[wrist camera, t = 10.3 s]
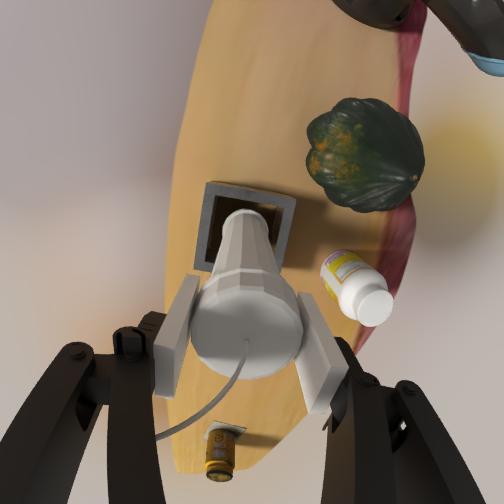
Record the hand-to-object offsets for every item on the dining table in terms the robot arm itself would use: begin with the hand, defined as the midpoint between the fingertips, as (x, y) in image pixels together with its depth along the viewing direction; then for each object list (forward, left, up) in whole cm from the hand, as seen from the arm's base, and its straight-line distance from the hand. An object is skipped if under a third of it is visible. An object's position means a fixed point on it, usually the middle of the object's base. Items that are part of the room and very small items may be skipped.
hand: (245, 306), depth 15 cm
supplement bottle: (-15, +4, -24) cm, 28 cm away
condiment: (-3, +46, -24) cm, 52 cm away
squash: (-13, -13, -24) cm, 30 cm away
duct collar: (0, 0, -23) cm, 23 cm away
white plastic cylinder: (0, 0, -21) cm, 21 cm away
